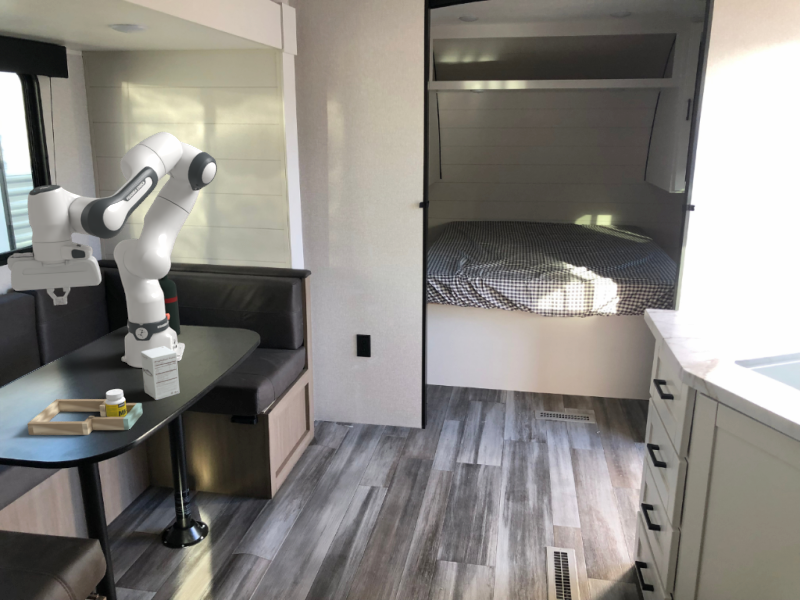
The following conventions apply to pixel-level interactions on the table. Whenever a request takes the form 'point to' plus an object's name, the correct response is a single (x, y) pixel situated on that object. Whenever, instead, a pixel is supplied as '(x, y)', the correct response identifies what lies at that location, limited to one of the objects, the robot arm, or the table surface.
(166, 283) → the wine bottle
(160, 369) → the supplement box
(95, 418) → the keyhole corral
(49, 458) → the table surface
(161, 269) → the robot arm
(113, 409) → the supplement bottle
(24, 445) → the table surface
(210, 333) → the table surface
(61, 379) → the table surface
